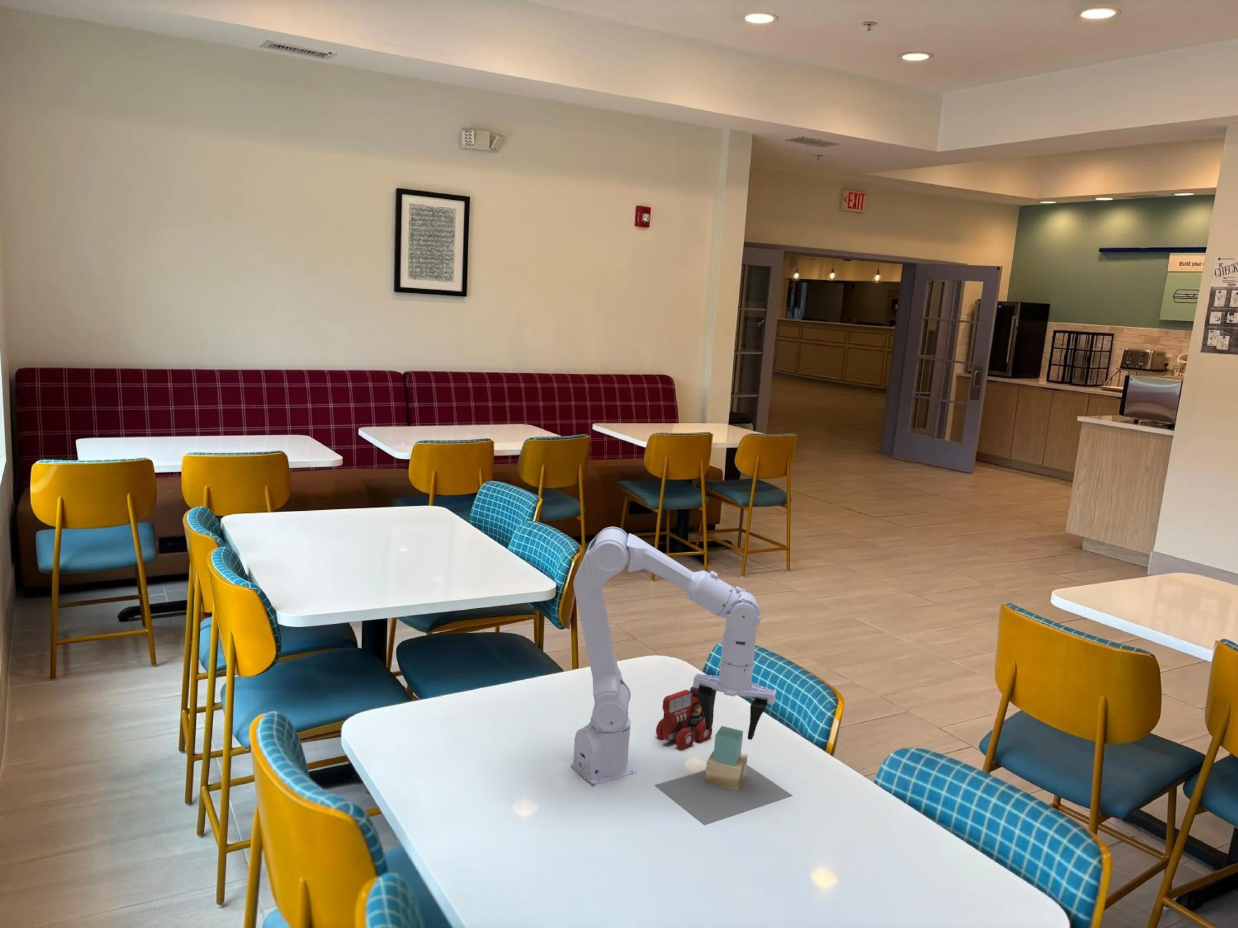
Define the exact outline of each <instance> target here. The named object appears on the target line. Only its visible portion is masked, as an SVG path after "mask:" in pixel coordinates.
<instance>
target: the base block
mask: <svg viewBox="0 0 1238 928" xmlns="http://www.w3.org/2000/svg"><path fill="white" fill-rule="evenodd" d="M748 755H749V754H747V753H742V752H741V757H740V759H739V760H738V762H737V764H736V765H735V766H731V765H727V764H723V763H719V762H715V761H713V756H714V750H712V752H711V753H710V755H709V757H708V759H707V760H706V765H705V768H706V769H705V770H706V775H705V782H706V783H710V784H714V785H718V786H722V787H726V788H730V789H734V790H738V789H739V787H740V785H741V783H742V781H743V779H744V777H745V775H746V767H747V765H748V757H749V756H748Z"/></svg>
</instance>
